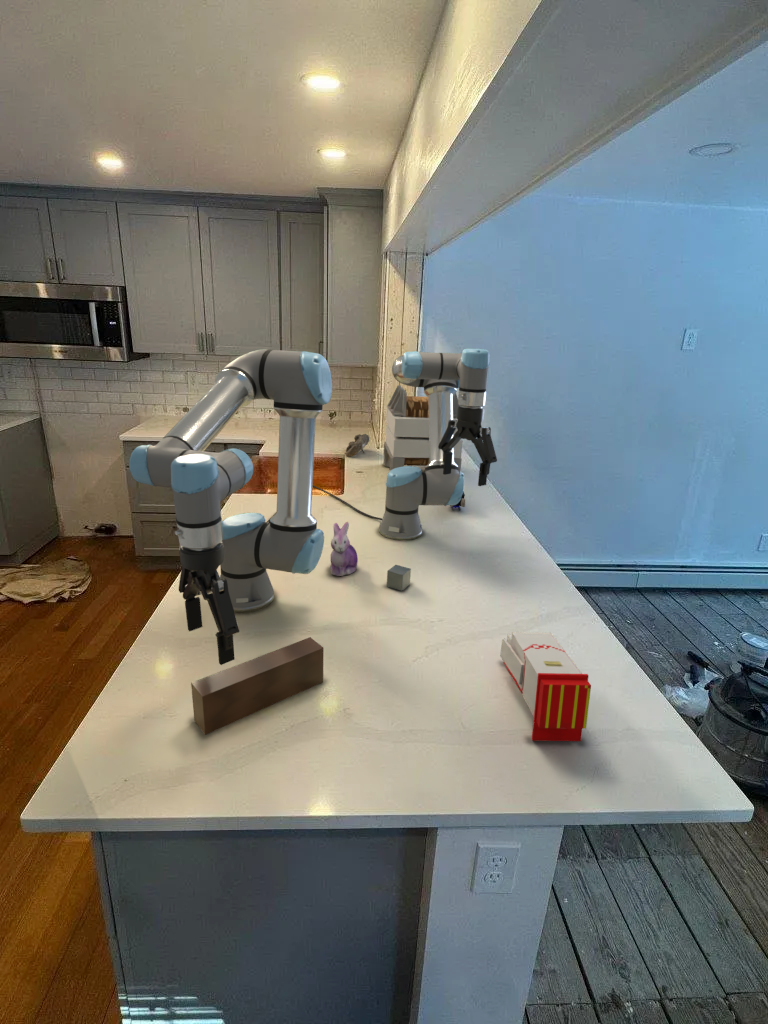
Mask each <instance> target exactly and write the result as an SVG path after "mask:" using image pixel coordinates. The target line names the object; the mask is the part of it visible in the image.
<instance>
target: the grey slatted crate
mask: <svg viewBox="0 0 768 1024" xmlns="http://www.w3.org/2000/svg"><path fill="white" fill-rule="evenodd" d="M407 394H408V393H407V390H406V389H404V388H403V387H402V385H399V384H398V385H397V386H396V388H395V390H394V392H393V394H392V395H391V398H390V400H389V402H388V404H387V405H386V413H385V414H386V415H385V423H386V428H385V438H384V442H383V466H384V467H388V468H389V471H391V470H392V469H394V468H398V467H403V466H412V467H414V466H415V467H426V466H427V465H428V464H429V405H428V396H415V395H414V396H413V395H412V396H411V395H407ZM458 406H460V405H459V404H458V395H457V392H456V393H455V394H454V395H453V420H455V419H456V420H457V418H456V416H457V407H458ZM457 421H458V420H457ZM457 431H458V429H457V427H456V429H455V431H454V433H453V436H454V434H455V433H456V432H457ZM463 442H464V441H463V439H461V440H460V441H459V442H458V443H457V444H456V445H455V446H454V463H455V464H456V465H458V471H459V472H462V461H463V460H462V453H463Z"/></svg>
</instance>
